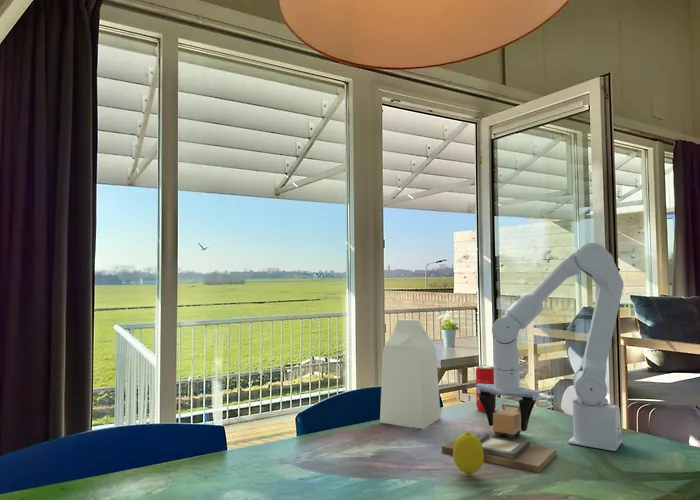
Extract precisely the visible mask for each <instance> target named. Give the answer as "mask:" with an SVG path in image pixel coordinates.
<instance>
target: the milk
mask: <svg viewBox="0 0 700 500" xmlns="http://www.w3.org/2000/svg"><path fill="white" fill-rule="evenodd" d="M436 348H437V347H436V346H435V343H434V342H433V340H432V339H431V337H430V335H428V333H427V332H426V331H425V327H424V325H423V323H422V320H421V319H407V318H406V319H405V318H404V319H402V318H401V319H397V321H396V324H395V327H394V330H393V331H392V333H391V334H390V336H389V338H388V340H387V341H386V343H385V344H384V347H383V348H382V349H383V350H382V364H381V387H380V388H381V389H380V412H379V413H380V414H379V423H381V424H387V425H394V426H400V427H407V428H412V427H415V428H414V429H419V428H421V429H422V430H425V429H426V428H428V427H430V426H431V425H432V424H434V423H436V422H437V421H439V420H440V419H441V405H440V404H441V403H440V388H439V377H438V375H439V373H438V362H437V361H438V360H437V359H438V358H437V349H436ZM438 419H439V420H438ZM435 421H436V422H435ZM430 424H431V425H430ZM427 426H428V427H427ZM421 429H420V430H421Z"/></svg>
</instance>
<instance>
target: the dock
mask: <svg viewBox="0 0 700 500" xmlns="http://www.w3.org/2000/svg"><path fill="white" fill-rule="evenodd" d="M465 433H466V432H464V433H463V434H465ZM472 434H473V435H475V436H476V437H477V438H478V439H479V440H480V442H481V444H482V448H483V452H484V460H483V462H486V463H491V464H496V465H500V466H504V467H505V466H506V467H510V468H515V469H518V470H519V469H520V470H523V471H529V472H532V473H533V472H534V473H540V472H541V471H542V470H544V468H545V467H546V466H547V465H548V464H549V463H550V462H552V461H553V459H554V458H555V457H556V456H557V449H556V448H552V447H546V446H540V445H536V444H531V441H530V440H523V441H522V442H520V441H519V442H518V441H514V440H509V439H507V440H506V439H502V438H496V437H491V436H490V433H483V434H481V435H479V434H475V433H472ZM458 437H459V436H458ZM458 437H456V438H454V439H452V440H451V441H449V442H447V443H445V444H444V445H442V446H441V453H444V454H449V455H453V448H454V444H455V441H456V439H457V438H458Z"/></svg>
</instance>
